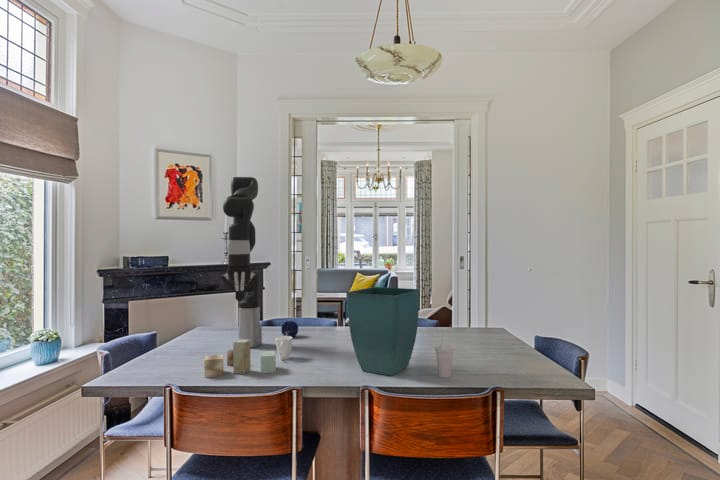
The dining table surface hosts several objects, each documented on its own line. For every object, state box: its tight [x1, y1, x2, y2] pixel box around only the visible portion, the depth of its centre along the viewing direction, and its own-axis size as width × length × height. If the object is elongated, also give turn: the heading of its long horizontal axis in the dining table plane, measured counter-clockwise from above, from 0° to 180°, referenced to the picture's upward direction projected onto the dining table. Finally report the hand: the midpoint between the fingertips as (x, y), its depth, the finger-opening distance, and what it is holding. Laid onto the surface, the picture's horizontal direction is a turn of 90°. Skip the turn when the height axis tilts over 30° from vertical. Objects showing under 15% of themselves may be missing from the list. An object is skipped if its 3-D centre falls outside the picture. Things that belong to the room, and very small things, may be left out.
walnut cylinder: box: [226, 349, 233, 367], centre depth 164 cm, size 5×5×5 cm
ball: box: [281, 320, 299, 338], centre depth 210 cm, size 8×8×8 cm
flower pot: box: [345, 286, 421, 376], centre depth 154 cm, size 20×20×28 cm
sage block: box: [259, 350, 277, 374], centre depth 156 cm, size 5×7×6 cm
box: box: [232, 339, 251, 375], centre depth 154 cm, size 5×4×11 cm
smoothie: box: [434, 333, 455, 379], centre depth 146 cm, size 6×6×14 cm
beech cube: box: [204, 354, 224, 378], centre depth 152 cm, size 6×6×6 cm
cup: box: [275, 335, 294, 361], centre depth 170 cm, size 7×10×8 cm
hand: (239, 301), depth 155 cm, fingers closed
